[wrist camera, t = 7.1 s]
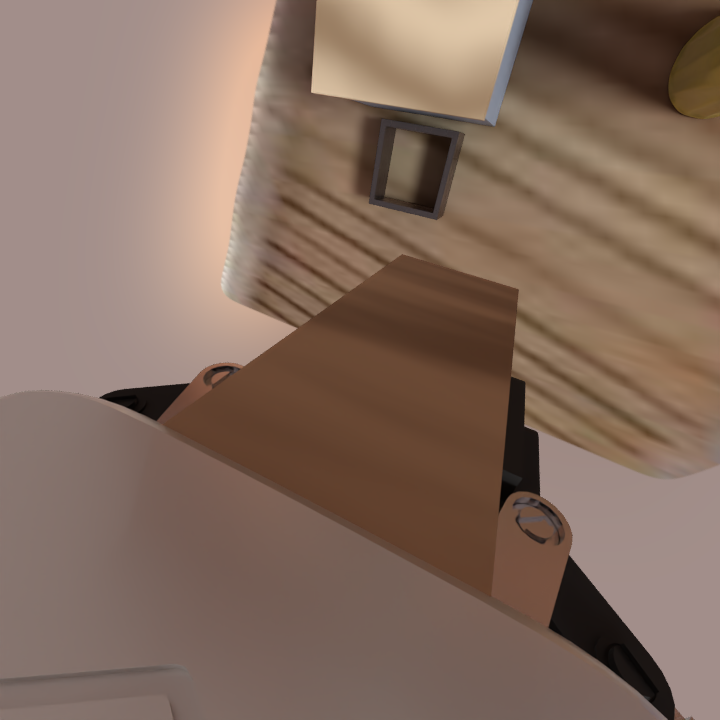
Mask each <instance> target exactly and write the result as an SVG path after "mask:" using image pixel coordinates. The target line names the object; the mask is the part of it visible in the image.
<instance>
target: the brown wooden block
mask: <svg viewBox="0 0 720 720" xmlns="http://www.w3.org/2000/svg"><path fill="white" fill-rule="evenodd" d="M518 291H519V289H516V288H512V287H509V286H506V285H502V284H499V283H496V282H492V281H489V280H486V279H483V278H479V277H476V276H473V275H469V274H466V273H463V272H459V271H456V270H453V269H449V268H446V267H443V266H439V265H436V264H433V263H429V262H426V261H423V260H419V259H416V258H413V257H410V256H406V255H403V254H402V255H401V256H399V257H398V258H396V259H395V260H394V261H392V262H391V263H389V264H388V265H387V266H385V267H384V268H382V269H381V270H380V271H378V272H377V273H375V274H374V275H372V276H371V277H370V278H368V279H367V280H365V281H364V282H363V283H361V284H360V285H358V286H357V287H356V288H354V289H353V290H351V291H350V292H349V293H347V294H346V295H344V296H343V297H341V298H340V299H339V300H337V301H336V302H334V303H333V304H332V305H330V306H329V307H327V308H326V309H325V310H323V311H322V312H320V313H319V314H317V315H316V316H315V317H313V318H312V319H310V320H309V321H308V322H306V323H305V324H303V325H302V326H301V327H299V328H298V329H296V330H295V331H294V332H292V333H291V334H289V335H288V336H286V337H285V338H284V339H282V340H281V341H279V342H278V343H277V344H275V345H274V346H272V347H271V348H270V349H268V350H267V351H265V352H264V353H263V354H261V355H260V356H258V357H257V358H255V359H254V360H253V361H251V362H250V363H248V364H247V365H246V366H244V367H243V368H241V369H240V370H239V371H237V372H236V373H234V374H233V375H231V376H230V377H229V378H227V379H226V380H224V381H223V382H222V383H220V384H219V385H217V386H216V387H215V388H213V389H212V390H210V391H209V392H207V393H206V394H205V395H203V396H202V397H200V398H199V399H198V400H196V401H195V402H193V403H192V404H191V405H189V406H188V407H186V408H185V409H184V410H182V411H181V412H179V413H178V414H176V415H175V416H174V417H172V418H171V419H169V420H168V421H167V422H165V423H164V424H162V425H164V426H166V427H168V428H170V429H172V430H174V431H176V432H178V433H180V434H182V435H184V436H186V437H188V438H190V439H192V440H193V441H195V442H197V443H199V444H201V445H203V446H205V447H207V448H209V449H211V450H213V451H215V452H217V453H219V454H221V455H223V456H225V457H226V458H228V459H230V460H232V461H234V462H236V463H238V464H240V465H242V466H244V467H246V468H248V469H250V470H252V471H254V472H256V473H257V474H259V475H261V476H263V477H265V478H267V479H269V480H271V481H273V482H275V483H277V484H279V485H280V486H282V487H284V488H286V489H288V490H290V491H292V492H294V493H296V494H298V495H300V496H301V497H303V498H305V499H307V500H309V501H311V502H313V503H315V504H317V505H319V506H321V507H322V508H324V509H326V510H328V511H330V512H332V513H334V514H336V515H338V516H340V517H342V518H343V519H345V520H347V521H349V522H351V523H353V524H355V525H357V526H359V527H361V528H362V529H364V530H366V531H368V532H370V533H372V534H374V535H376V536H378V537H380V538H381V539H383V540H385V541H387V542H389V543H391V544H393V545H395V546H396V547H398V548H400V549H402V550H404V551H406V552H408V553H410V554H411V555H413V556H415V557H417V558H419V559H421V560H423V561H425V562H427V563H428V564H430V565H432V566H434V567H436V568H438V569H440V570H442V571H443V572H445V573H447V574H449V575H451V576H453V577H455V578H457V579H459V580H460V581H462V582H464V583H466V584H468V585H470V586H472V587H474V588H475V589H477V590H479V591H481V592H483V593H485V594H486V595H488V596H490V597H491V593H492V582H493V570H494V559H495V548H496V537H497V526H498V515H499V503H500V492H501V481H502V470H503V459H504V448H505V436H506V425H507V414H508V403H509V392H510V381H511V369H512V358H513V347H514V336H515V325H516V314H517V302H518Z"/></svg>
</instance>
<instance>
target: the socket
mask: <svg viewBox="0 0 720 720" xmlns="http://www.w3.org/2000/svg"><path fill="white" fill-rule="evenodd" d="M396 128H397V129H403V130H408V131H414V132H420V133H425V134H431V135H436V136H442V137H448V138H452V140H451V144H450V148H449V152H448V156H447V160H446V164H445V168H444V172H443V176H442V180H441V184H440V188H439V192H438V196H437V200H436V204H435V208H431V207H426V206H422V205H418V204H413V203H409V202H405V201H401V200H396V199H392V198H388V197H384V195H385V189H386V183H387V177H388V172H389V166H390V160H391V155H392V149H393V143H394V137H395V132H396ZM464 136H465V134H464V133H461V132H457V131H451V130H446V129H440V128H434V127H428V126H422V125H417V124H411V123H405V122H399V121H393V120H388V119H382V120H381V127H380V134H379V140H378V147H377V153H376V160H375V166H374V173H373V179H372V186H371V192H370V199H369V204H373V205H377V206H381V207H386V208H390V209H394V210H398V211H402V212H406V213H410V214H415V215H419V216H423V217H427V218H431V219H435V220H437V219H439V218H440V217H442V216H443V214H444V210H445V206H446V203H447V199H448V195H449V191H450V188H451V184H452V180H453V177H454V173H455V169H456V165H457V162H458V158H459V154H460V150H461V147H462V143H463V139H464Z"/></svg>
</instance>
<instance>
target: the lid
mask: <svg viewBox="0 0 720 720" xmlns="http://www.w3.org/2000/svg"><path fill="white" fill-rule="evenodd" d="M518 3H519V0H317V3H316V20H315V37H314V54H313V71H312V88H311V93H315V94H319V95H325V96H332V97H338V98H344V99H350V100H356V101H363V102H369V103H375V104H381V105H388V106H394V107H400V108H406V109H412V110H419V111H425V112H431V113H437V114H443V115H450V116H456V117H462V118H468V119H474V120H481V121H485V117H486V114H487V110H488V107H489V103H490V100H491V96H492V93H493V90H494V86H495V83H496V79H497V76H498V72H499V69H500V65H501V62H502V58H503V55H504V52H505V48H506V45H507V41H508V38H509V34H510V31H511V27H512V24H513V20H514V17H515V14H516V10H517V7H518Z"/></svg>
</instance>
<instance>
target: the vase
mask: <svg viewBox="0 0 720 720" xmlns="http://www.w3.org/2000/svg"><path fill="white" fill-rule="evenodd" d="M668 92H669V97H670V100H671V102H672V104H673V105H674V107H675V108H676V109H677V110H678V111H679V112H680V113H682V114H684V115H686V116H690V117H694V118H699V119H708V118H713V117H718V116H720V16H718V17H716V18H715V19H713V20H711V21H710V22H709V23H707V24H706V25H705V26H703V27H702V28H701V29H700V30H699V31H698V32H697V33H696V34H695V35H694V36H693V37H692V38H691V39H690V40H689V41H688V42H687V43H686V45H685V46H684V47H683V49H682V50H681V52H680V53H679V55H678V57H677V59H676V61H675V63H674V65H673V68H672V70H671V73H670V77H669V84H668Z"/></svg>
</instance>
